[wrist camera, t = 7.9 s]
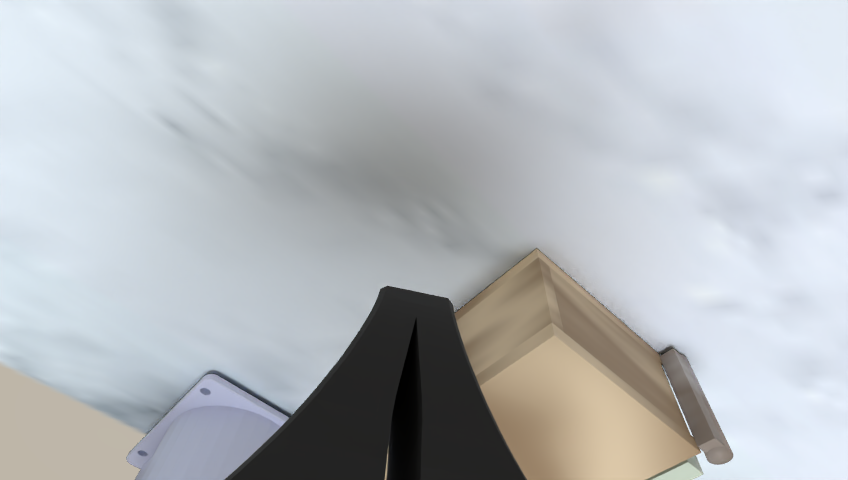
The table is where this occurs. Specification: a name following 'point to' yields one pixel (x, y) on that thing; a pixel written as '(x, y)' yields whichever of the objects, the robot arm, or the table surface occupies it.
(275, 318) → the table surface
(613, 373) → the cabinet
